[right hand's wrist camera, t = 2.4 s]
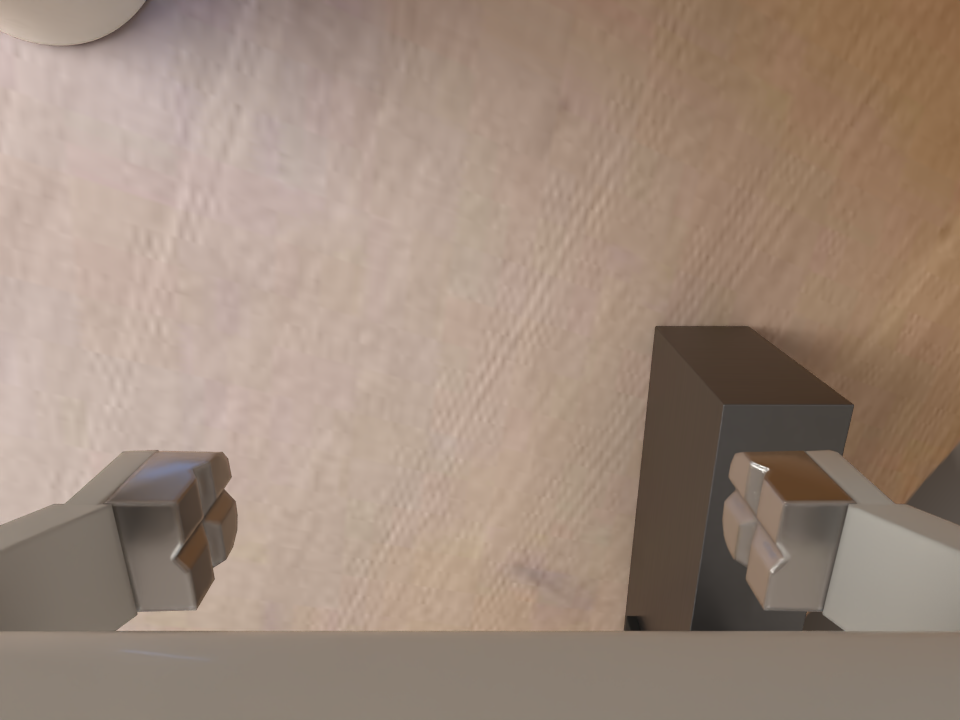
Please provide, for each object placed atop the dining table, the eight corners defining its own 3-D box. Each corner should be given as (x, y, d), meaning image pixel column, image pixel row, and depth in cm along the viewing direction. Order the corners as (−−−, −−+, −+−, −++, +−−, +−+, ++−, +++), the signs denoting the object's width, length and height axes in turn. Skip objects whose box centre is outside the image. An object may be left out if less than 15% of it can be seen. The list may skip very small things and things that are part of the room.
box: (655, 325, 41) (723, 404, 29) (748, 326, 41) (854, 404, 29) (622, 640, 50) (665, 795, 39) (699, 640, 50) (765, 795, 39)
